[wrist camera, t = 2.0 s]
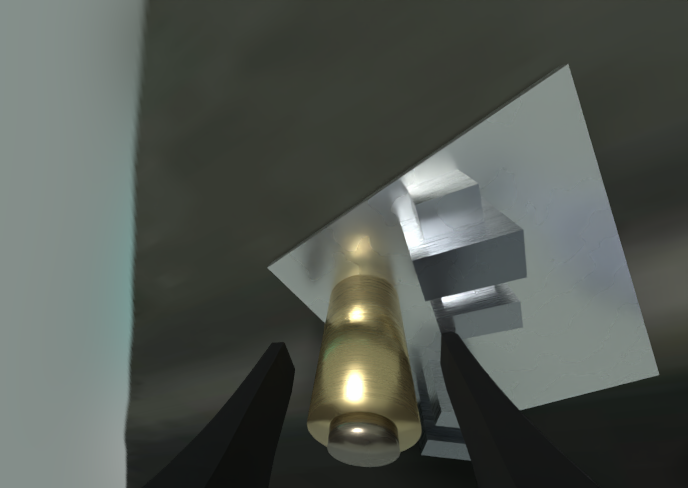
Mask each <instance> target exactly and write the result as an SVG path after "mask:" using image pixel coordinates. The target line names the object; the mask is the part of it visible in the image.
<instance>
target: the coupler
mask: <svg viewBox="0 0 688 488" xmlns="http://www.w3.org/2000/svg"><path fill="white" fill-rule="evenodd" d="M307 426H308V430H309V432H310V433H311V435H312V436H313V437H314V438H315V439H316V440H317V441H319V442H320V443H322V444H323V445H325V446H327V449H328V452H329V453H330V454H331V455H332V456H333V457H334V458H336V459H337V460H339V461H342V462H344V463H347V464H351V465H355V466H362V467H376V466H382V465H386V464H389V463H391V462H393V461H395V460H396V459H397V458H398V457H399V455H400V452H401V451H404V450H406V449H408V448H410V447H411V446H413V445H414V444H415V443H416V442H417V441H418V440H419V438H420V436H421V432H422V430H421V423H420V417H419V411H418V406H417V400H416V394H415V388H414V383H413V377H412V371H411V366H410V360H409V354H408V349H407V343H406V337H405V331H404V326H403V320H402V314H401V309H400V303H399V297H398V294H397V292H396V290H395V289H394V287H393V286H392V285H391V284H390V283H388V282H387V281H386V280H384V279H382V278H380V277H377V276H373V275H354V276H350V277H347V278H345V279H343V280H342V281H340V282H339V283H338V284H337V285H336V286H335V287H334V288H333V290H332V292H331V295H330V300H329V305H328V311H327V316H326V322H325V327H324V333H323V338H322V344H321V349H320V354H319V360H318V365H317V371H316V376H315V382H314V387H313V393H312V398H311V403H310V409H309V414H308V420H307Z"/></svg>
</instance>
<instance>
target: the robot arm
mask: <svg viewBox="0 0 688 488" xmlns="http://www.w3.org/2000/svg"><path fill="white" fill-rule="evenodd" d="M440 365H441V369H442V374H443V378H444V382H445V386H446V390H447V393H448V396H449V398H450V401H451V404H452V407H453V410H454V413H455V416H456V418H457V421H458V424H459V427H460V430H461V433H462V436H463V438H464V441H465V444H466V447H467V450H468V453H469V456H470V459H471V463H472V466H473V470H474V474H475V477H476V481H477V485H478V488H601V487H600V486H599V485H598V484H597V483H595V482H594V481H593V480H592V479H591V478H590V477H589V476H588V475H587V474H585V473H584V472H583V471H582V470H581V469H580V468H579V467H578V466H576V465H575V464H574V463H573V462H572V461H571V460H570V459H569V458H568V457H566V456H565V455H564V454H563V453H562V452H561V451H560V450H559V449H558V448H557V447H556V446H555V445H554V444H553V443H552V442H551V441H550V440H549V439H548V438H547V437H545V436H544V435H543V434H542V433H541V432H540V431H539V430H538V429H537V428H536V427H535V426H534V425H533V424H532V423H531V421H530V420H529V419H528V418H527V417H526V416H525V415H524V414H523V413H522V412H521V411H520V410H519V409H518V408H517V407H516V406H515V405H514V403H513V402H512V401H511V400H510V399H509V398H508V397H507V396H506V395H505V393H504V392H503V391H502V390H501V389H500V388H499V387H498V385H497V384H496V383H495V382H494V381H493V379H492V378H491V377H490V376H489V375H488V373H487V372H486V371H485V370H484V369H483V367H482V366H481V365H480V364H479V362H478V361H477V360H476V358H475V357H474V356H473V354H472V353H471V352H470V350H469V349H468V348H467V346H466V345H465V344H464V342H463V341H462V339H461V338H460V336H459V335H458V334H457V333H447V334H441V356H440ZM294 373H295V368H294V365H293V363H292V360H291V358H290V355H289V353H288V350H287V348H286V345H285V343H284V342H279V343H272V344H271V345H270V346H269V347H268V349H267V350H266V352H265V353H264V354H263V356H262V357H261V358H260V360H259V361H258V363H257V364H256V365H255V367H254V368H253V369H252V371H251V372H250V373H249V375H248V376H247V377H246V379H245V380H244V381H243V382H242V384H241V385H240V386H239V388H238V389H237V390H236V391H235V393H234V394H233V395H232V396H231V398H230V399H229V400H228V401H227V402H226V404H225V405H224V406H223V407H222V408H221V410H220V411H219V412H218V413H217V414H216V415H215V417H214V418H213V419H212V420H211V421H210V422H209V423H208V424H207V425H206V426H205V428H204V429H203V430H202V431H201V432H200V433H199V434H198V435H197V436H196V437H195V438H194V439H193V440H192V441H191V442H190V443H189V444H188V445H187V446H186V447H185V448H184V449H183V450H182V451H181V452H180V453H179V454H178V455H177V456H176V457H175V458H174V459H173V460H172V461H171V462H170V463H169V464H168V465H167V466H166V467H164V468H163V469H162V470H161V471H160V472H159V473H158V474H157V475H156V476H155V477H153V478H152V479H151V480H150V481H149V482H148V483H147V484H146V485H145V486H143V487H142V488H268V486H269V480H270V475H271V470H272V465H273V460H274V456H275V451H276V447H277V444H278V440H279V437H280V433H281V429H282V426H283V422H284V418H285V415H286V411H287V407H288V404H289V400H290V396H291V392H292V386H293V380H294Z"/></svg>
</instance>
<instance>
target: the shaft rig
mask: <svg viewBox="0 0 688 488" xmlns="http://www.w3.org/2000/svg"><path fill="white" fill-rule="evenodd" d="M268 269H269V270H270V271H271V272H273V273H274V274H275V275H276V276H277V277H278V278H279V279H280V280H281V281H282V282H283V283H284V284H285V285H286V286H287V287H288V288H289V289H290V290H291V291H292V292H293V293H294V294H295V295H296V296H297V297H298V298H300V299H301V300H302V301H303V302H304V303H305V304H306V305H307V306H308V307H309V308H310V309H311V310H312V311H313V312H314V313H315V314H316V315H317V316H318V317H319V318H320V319H321V320H322V321H323V322H324V323H325V322H326V316H327V311H328V305H329V300H330V295H331V292H332V290H333V288H334V287H335V286H336V285H337V284H338V283H339V282H340V281H342V280H343V279H345V278H347V277H350V276H354V275H373V276H377V277H380V278H382V279H384V280H386V281H387V282H388V283H390V284H391V285H392V286H393V287H394V289H395V290H396V292H397V294H398V297H399V303H400V309H401V314H402V320H403V326H404V331H405V337H406V343H407V349H408V354H409V360H410V366H411V371H412V377H413V383H414V388H415V394H416V400H417V406H418V411H419V417H420V423H421V430H422V432H421V436H420V438H419V446H420V452H421V455H426V456H435V457H444V458H453V459H461V460H470V461H471V459H470V456H469V453H468V450H467V447H466V444H465V441H464V438H463V436H462V433H461V430H460V427H459V424H458V421H457V418H456V416H455V413H454V410H453V407H452V404H451V401H450V398H449V396H448V393H447V390H446V386H445V382H444V378H443V374H442V369H441V365H440V356H441V334H447V333H457V334H458V335H459V336H460V338H461V339H462V341H463V342H464V344H465V345H466V346H467V348H468V349H469V350H470V352H471V353H472V354H473V356H474V357H475V358H476V360H477V361H478V362H479V364H480V365H481V366H482V367H483V369H484V370H485V371H486V372H487V373H488V375H489V376H490V377H491V378H492V379H493V381H494V382H495V383H496V384H497V385H498V387H499V388H500V389H501V390H502V391H503V392H504V393H505V395H506V396H507V397H508V398H509V399H510V400H511V401H512V402H513V403H514V405H515V406H516V407H517V408H518V409H519V410H523V409H527V408H531V407H535V406H539V405H543V404H546V403H550V402H554V401H558V400H562V399H566V398H570V397H574V396H578V395H582V394H586V393H590V392H594V391H597V390H601V389H605V388H609V387H613V386H617V385H621V384H625V383H629V382H633V381H637V380H641V379H645V378H649V377H652V376H656V375H659V372H658V368H657V365H656V362H655V358H654V355H653V351H652V348H651V345H650V341H649V338H648V334H647V331H646V328H645V324H644V321H643V317H642V314H641V310H640V307H639V304H638V300H637V297H636V293H635V290H634V287H633V283H632V280H631V276H630V273H629V270H628V266H627V263H626V259H625V256H624V253H623V249H622V246H621V242H620V239H619V236H618V232H617V229H616V225H615V222H614V218H613V215H612V212H611V208H610V205H609V201H608V198H607V195H606V191H605V188H604V184H603V181H602V178H601V174H600V171H599V167H598V164H597V161H596V157H595V154H594V150H593V147H592V143H591V140H590V137H589V133H588V130H587V126H586V123H585V120H584V116H583V113H582V109H581V106H580V103H579V99H578V96H577V92H576V89H575V86H574V82H573V79H572V75H571V72H570V69H569V65H568V64H566V65H561V66H559V67H557V68H556V69H554V70H553V71H552V72H550V73H549V74H547V75H546V76H544V77H543V78H541V79H540V80H538V81H537V82H535V83H534V84H532V85H531V86H530V87H528V88H527V89H525V90H524V91H522V92H521V93H519V94H518V95H516V96H515V97H513V98H512V99H510V100H509V101H508V102H506V103H505V104H503V105H502V106H500V107H499V108H497V109H496V110H494V111H493V112H491V113H490V114H489V115H487V116H486V117H484V118H483V119H481V120H480V121H478V122H477V123H475V124H474V125H472V126H471V127H469V128H468V129H467V130H465V131H464V132H462V133H461V134H459V135H458V136H456V137H455V138H453V139H452V140H450V141H449V142H447V143H446V144H445V145H443V146H442V147H440V148H439V149H437V150H436V151H434V152H433V153H431V154H430V155H428V156H427V157H426V158H424V159H423V160H421V161H420V162H418V163H417V164H415V165H414V166H412V167H411V168H409V169H408V170H406V171H405V172H404V173H402V174H401V175H399V176H398V177H396V178H395V179H393V180H392V181H390V182H389V183H387V184H386V185H384V186H383V187H382V188H380V189H379V190H377V191H376V192H374V193H373V194H371V195H370V196H368V197H367V198H365V199H364V200H362V201H361V202H360V203H358V204H357V205H355V206H354V207H352V208H351V209H349V210H348V211H346V212H345V213H343V214H342V215H341V216H339V217H338V218H336V219H335V220H333V221H332V222H330V223H329V224H327V225H326V226H324V227H323V228H321V229H320V230H319V231H317V232H316V233H314V234H313V235H311V236H310V237H308V238H307V239H305V240H304V241H302V242H301V243H299V244H298V245H297V246H295V247H294V248H292V249H291V250H289V251H288V252H286V253H285V254H283V255H282V256H280V257H279V258H278V259H276V260H275V261H273V262H272V263H270V264H269V266H268Z"/></svg>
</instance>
